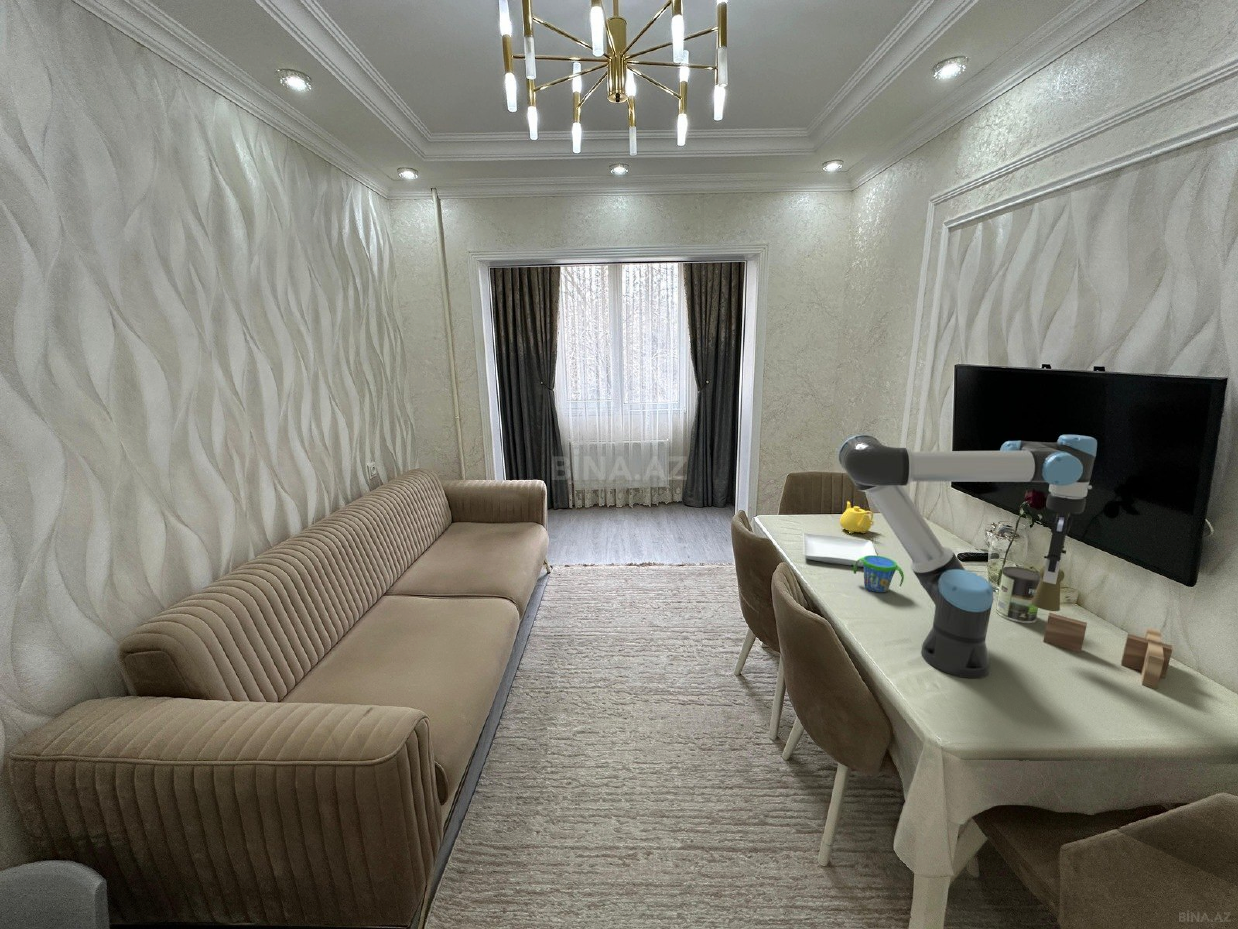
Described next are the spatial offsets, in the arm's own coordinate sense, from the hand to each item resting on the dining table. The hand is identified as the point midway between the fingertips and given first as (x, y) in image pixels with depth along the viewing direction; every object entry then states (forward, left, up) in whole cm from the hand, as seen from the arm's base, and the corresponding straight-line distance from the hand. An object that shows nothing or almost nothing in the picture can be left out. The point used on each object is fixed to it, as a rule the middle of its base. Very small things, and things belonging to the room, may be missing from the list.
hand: (1050, 578), depth 138 cm
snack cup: (+8, +44, -21) cm, 50 cm away
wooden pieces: (+7, -13, -21) cm, 25 cm away
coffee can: (+19, +7, -21) cm, 29 cm away
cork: (0, 0, -8) cm, 8 cm away
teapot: (+64, +71, -21) cm, 98 cm away
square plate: (+30, +66, -21) cm, 76 cm away
